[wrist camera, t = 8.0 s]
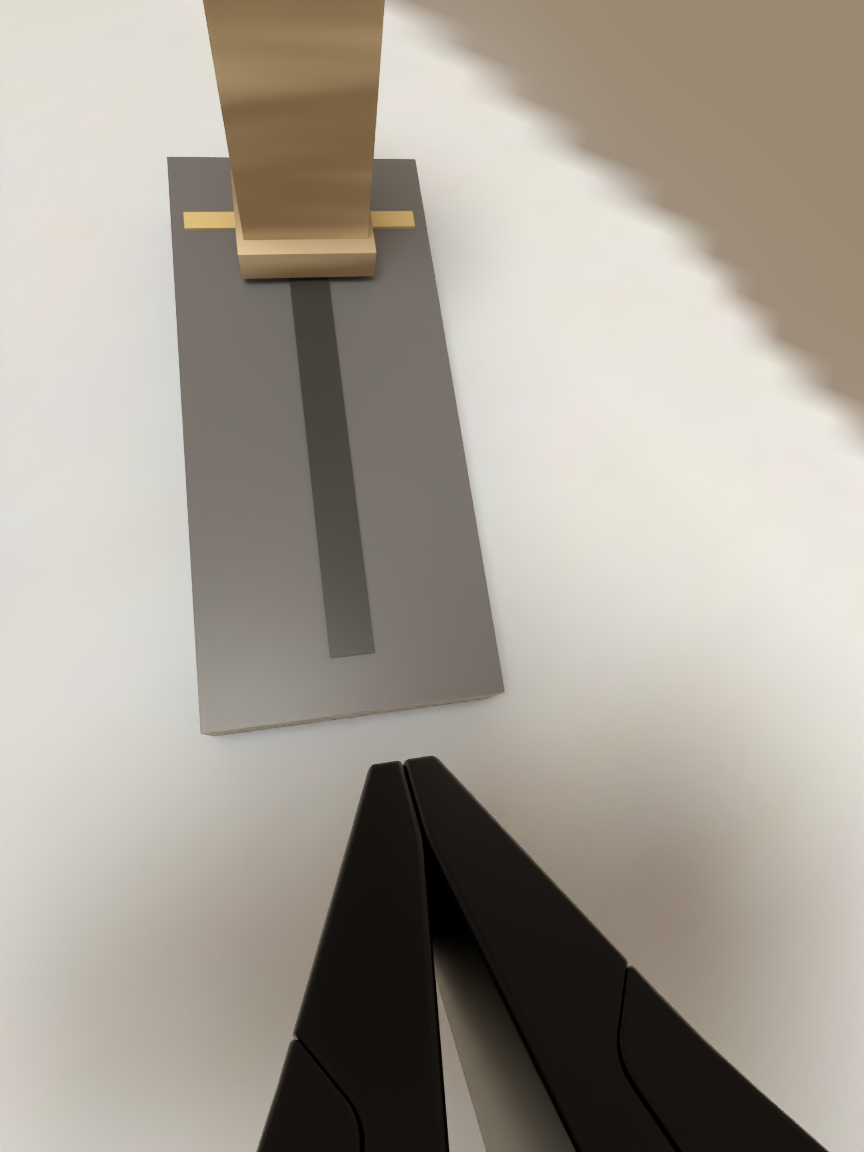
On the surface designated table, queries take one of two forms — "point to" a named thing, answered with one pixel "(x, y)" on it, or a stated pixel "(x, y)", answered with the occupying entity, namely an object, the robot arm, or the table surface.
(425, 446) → the fader console
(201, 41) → the table surface
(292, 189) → the fader lever
